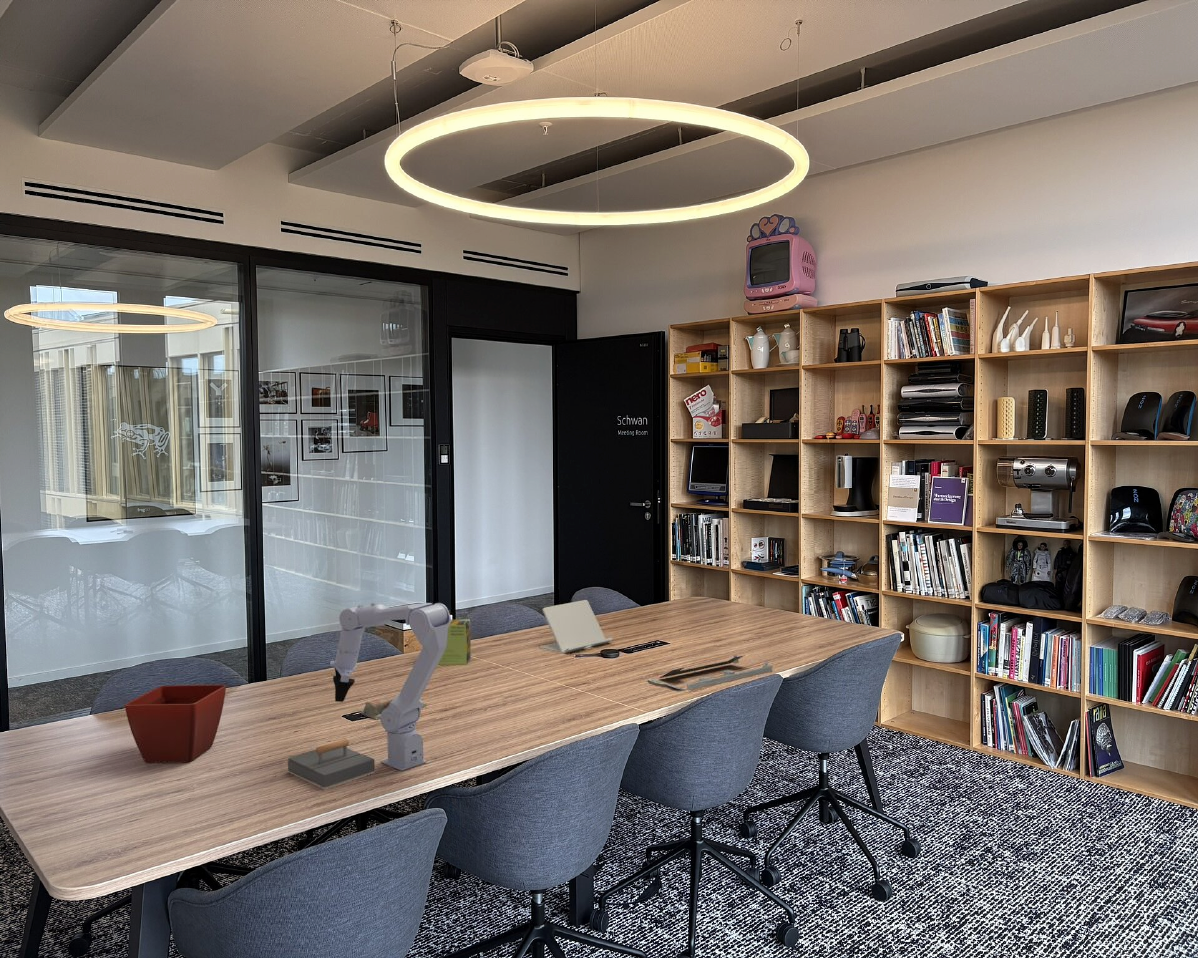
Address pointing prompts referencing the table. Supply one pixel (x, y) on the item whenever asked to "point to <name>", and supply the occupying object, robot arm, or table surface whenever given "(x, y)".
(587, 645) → the tablet stand
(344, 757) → the grill press
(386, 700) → the packaged product
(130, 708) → the plant pot
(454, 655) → the protein box
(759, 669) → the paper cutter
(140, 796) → the table surface
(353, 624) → the robot arm
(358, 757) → the charcoal shallow open tray
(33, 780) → the table surface
